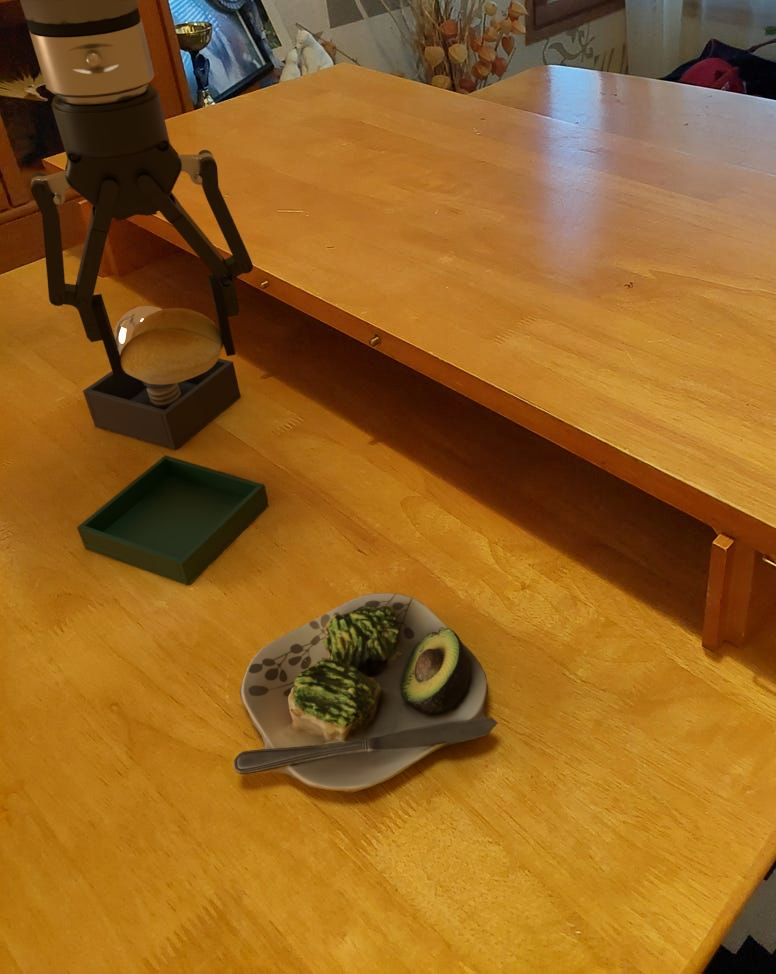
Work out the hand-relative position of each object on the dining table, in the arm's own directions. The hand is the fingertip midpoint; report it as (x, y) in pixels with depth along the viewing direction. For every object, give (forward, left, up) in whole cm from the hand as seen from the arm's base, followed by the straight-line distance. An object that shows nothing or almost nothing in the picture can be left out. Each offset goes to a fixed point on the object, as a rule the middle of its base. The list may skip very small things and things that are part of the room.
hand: (174, 358), depth 81 cm
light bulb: (-14, +10, -15) cm, 23 cm away
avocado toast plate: (+27, -15, -16) cm, 35 cm away
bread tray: (0, -5, -15) cm, 16 cm away
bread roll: (0, 0, 0) cm, 0 cm away
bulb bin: (-14, +10, -15) cm, 23 cm away
